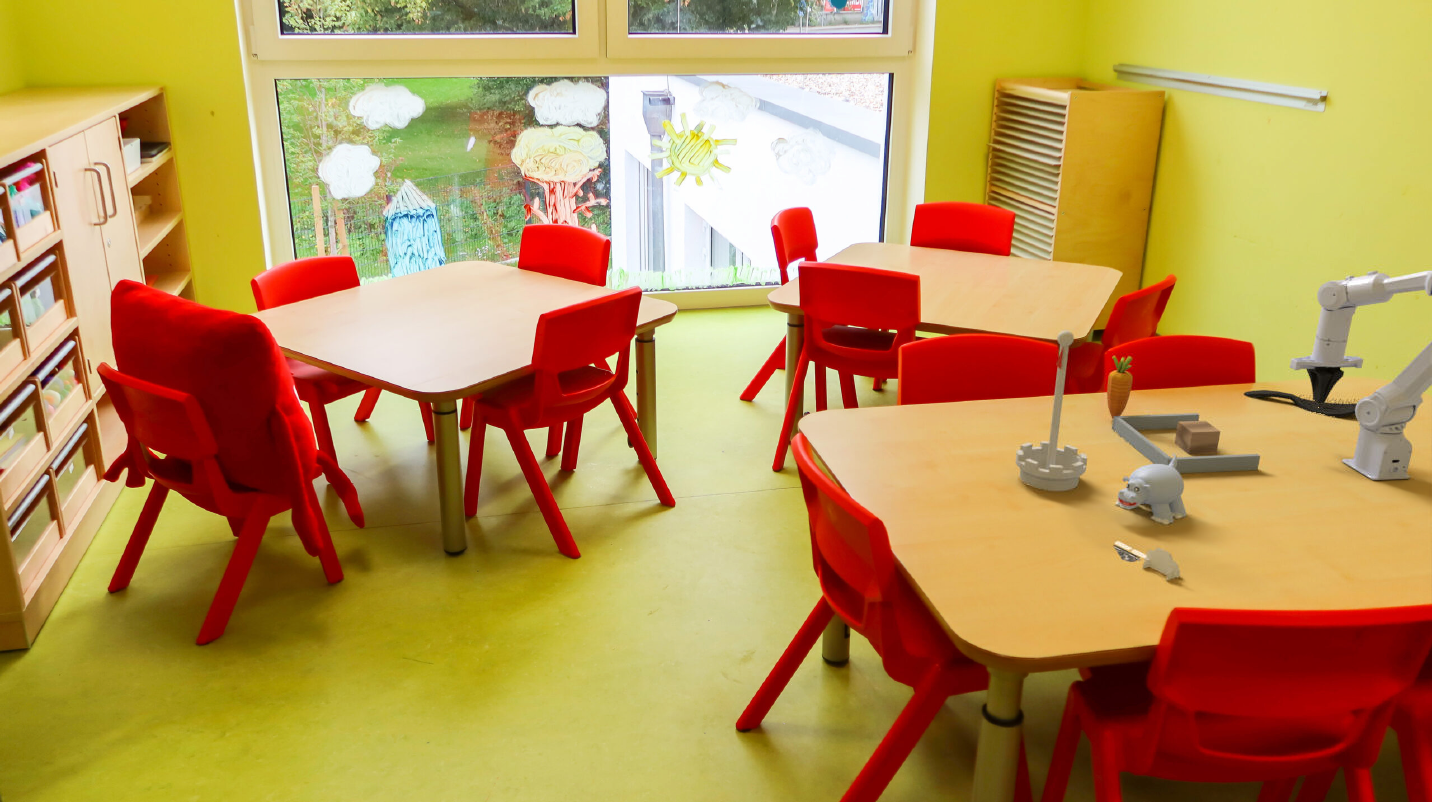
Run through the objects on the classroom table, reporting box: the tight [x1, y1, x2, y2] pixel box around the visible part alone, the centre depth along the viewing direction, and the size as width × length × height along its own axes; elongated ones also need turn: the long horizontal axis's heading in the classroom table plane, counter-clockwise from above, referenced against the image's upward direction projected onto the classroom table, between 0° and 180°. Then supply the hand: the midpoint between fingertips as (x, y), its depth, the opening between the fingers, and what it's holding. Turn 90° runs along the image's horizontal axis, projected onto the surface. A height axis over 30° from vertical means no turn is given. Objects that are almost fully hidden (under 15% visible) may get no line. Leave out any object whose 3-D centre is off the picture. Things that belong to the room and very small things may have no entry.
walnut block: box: [1174, 420, 1221, 455], centre depth 228 cm, size 6×6×5 cm
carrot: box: [1106, 355, 1134, 420], centre depth 241 cm, size 5×5×15 cm
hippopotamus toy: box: [1114, 453, 1187, 525], centre depth 198 cm, size 11×15×10 cm
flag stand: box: [1015, 329, 1088, 492], centre depth 208 cm, size 13×13×30 cm
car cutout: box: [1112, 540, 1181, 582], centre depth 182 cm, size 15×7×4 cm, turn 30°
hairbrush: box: [1243, 389, 1360, 418], centre depth 253 cm, size 8×4×25 cm
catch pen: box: [1111, 412, 1261, 474], centre depth 228 cm, size 24×19×3 cm
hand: (1318, 401), depth 228 cm, fingers closed
